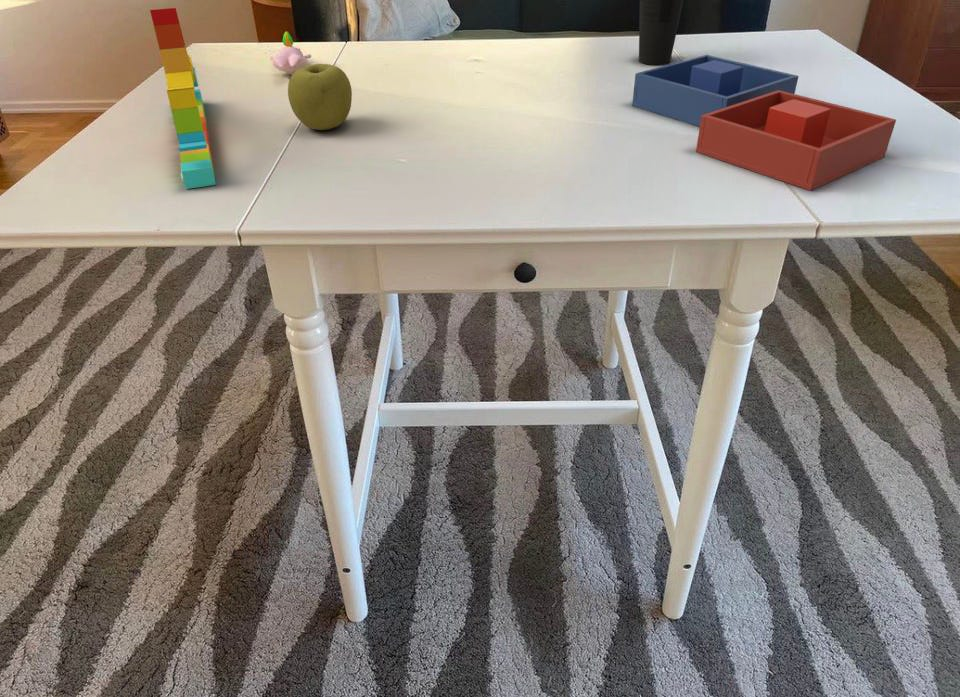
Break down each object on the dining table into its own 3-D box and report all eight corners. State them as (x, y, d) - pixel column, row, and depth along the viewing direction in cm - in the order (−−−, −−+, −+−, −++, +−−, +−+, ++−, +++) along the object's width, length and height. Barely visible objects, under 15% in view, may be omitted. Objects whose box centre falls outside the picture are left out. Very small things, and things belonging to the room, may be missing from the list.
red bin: (884, 157, 79) (896, 119, 76) (810, 191, 72) (821, 151, 69) (771, 124, 88) (778, 89, 86) (695, 151, 81) (701, 115, 79)
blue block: (737, 103, 93) (744, 66, 90) (715, 110, 91) (721, 73, 88) (708, 95, 96) (714, 59, 93) (686, 102, 94) (691, 65, 91)
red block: (820, 149, 79) (831, 108, 77) (796, 159, 77) (807, 117, 74) (784, 139, 82) (793, 98, 79) (760, 148, 80) (769, 107, 77)
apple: (288, 138, 87) (277, 77, 83) (301, 117, 93) (292, 59, 89) (350, 138, 87) (343, 76, 83) (360, 116, 93) (353, 58, 89)
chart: (178, 106, 98) (146, -16, 90) (203, 103, 99) (174, -18, 90) (183, 189, 75) (141, 36, 66) (215, 185, 76) (178, 32, 67)
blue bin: (791, 108, 93) (799, 75, 90) (721, 133, 86) (727, 98, 83) (701, 85, 102) (706, 54, 99) (631, 105, 95) (635, 73, 92)
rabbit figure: (275, 71, 117) (266, 80, 104) (268, 31, 114) (259, 35, 101) (314, 68, 118) (311, 77, 104) (308, 28, 115) (304, 32, 102)
